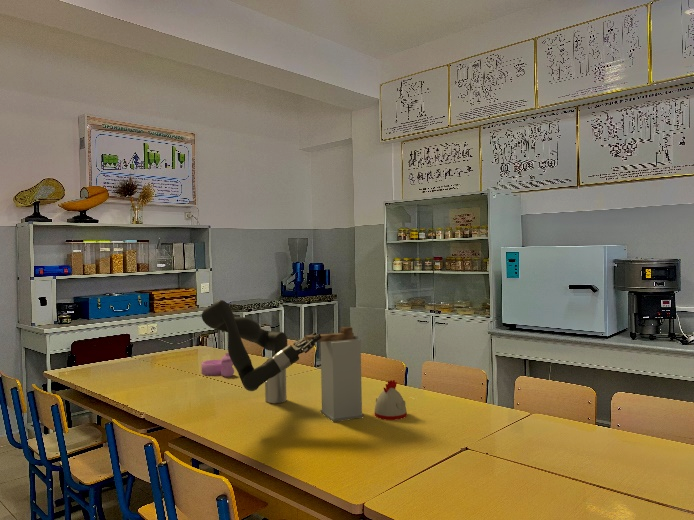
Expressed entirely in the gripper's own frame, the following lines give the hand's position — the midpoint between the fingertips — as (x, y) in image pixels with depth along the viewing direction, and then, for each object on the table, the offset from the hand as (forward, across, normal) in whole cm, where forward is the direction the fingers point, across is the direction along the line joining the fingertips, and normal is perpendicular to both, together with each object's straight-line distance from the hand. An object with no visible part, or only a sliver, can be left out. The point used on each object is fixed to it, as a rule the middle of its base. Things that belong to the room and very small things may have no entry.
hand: (318, 334), depth 230 cm
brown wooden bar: (+3, 0, -5) cm, 6 cm away
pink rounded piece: (-38, -108, -20) cm, 116 cm away
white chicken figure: (+7, +9, -46) cm, 47 cm away
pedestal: (-9, 0, -36) cm, 37 cm away
